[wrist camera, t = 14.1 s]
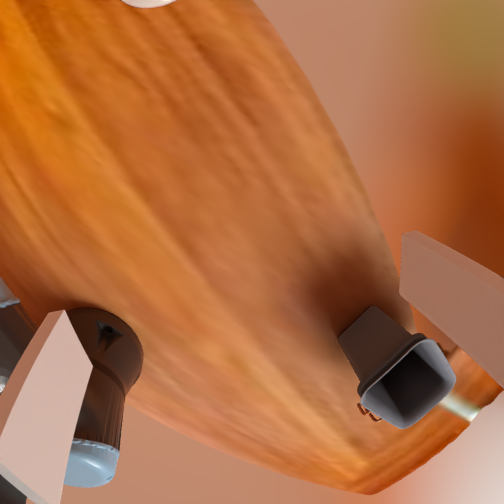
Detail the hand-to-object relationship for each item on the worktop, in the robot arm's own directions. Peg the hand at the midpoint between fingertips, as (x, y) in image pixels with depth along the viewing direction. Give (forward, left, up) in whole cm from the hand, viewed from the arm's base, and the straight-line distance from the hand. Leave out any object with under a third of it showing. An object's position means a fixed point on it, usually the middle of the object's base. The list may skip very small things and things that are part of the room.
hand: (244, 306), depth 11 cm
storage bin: (+23, -33, -29) cm, 50 cm away
